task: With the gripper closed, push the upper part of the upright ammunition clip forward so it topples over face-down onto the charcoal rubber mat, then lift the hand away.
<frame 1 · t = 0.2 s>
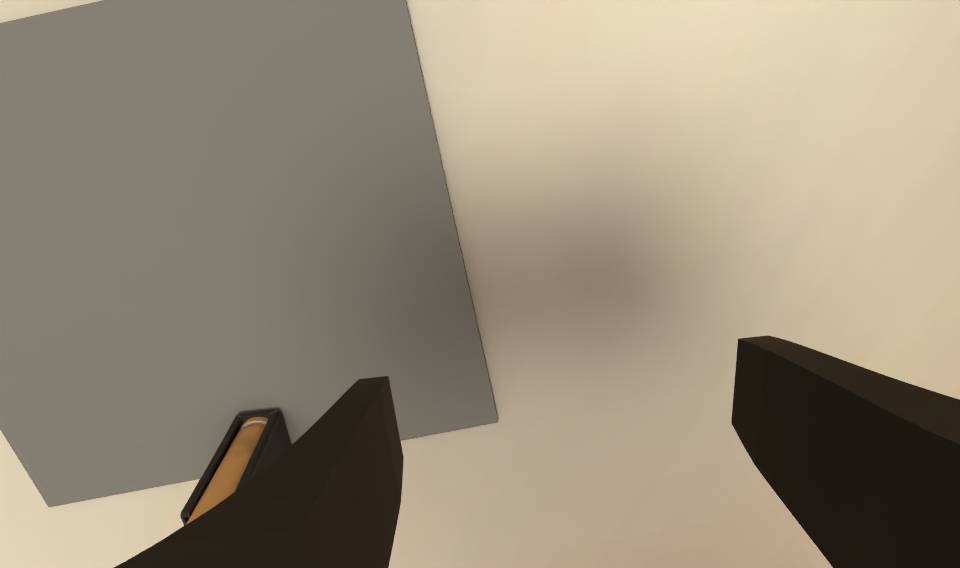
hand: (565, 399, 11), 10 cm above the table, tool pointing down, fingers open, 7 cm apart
ammunition clip: (290, 504, 24), on the table, touching mat
mat: (193, 269, 20), on the table
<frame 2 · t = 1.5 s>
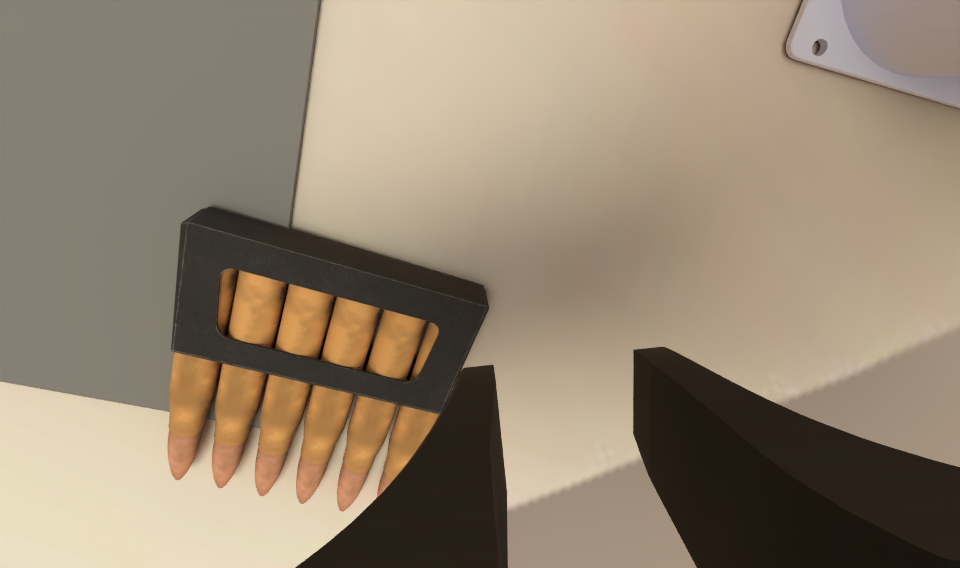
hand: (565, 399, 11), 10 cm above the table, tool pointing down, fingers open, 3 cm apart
ammunition clip: (349, 251, 19), point 1 cm above the table, touching mat
mat: (33, 140, 19), on the table
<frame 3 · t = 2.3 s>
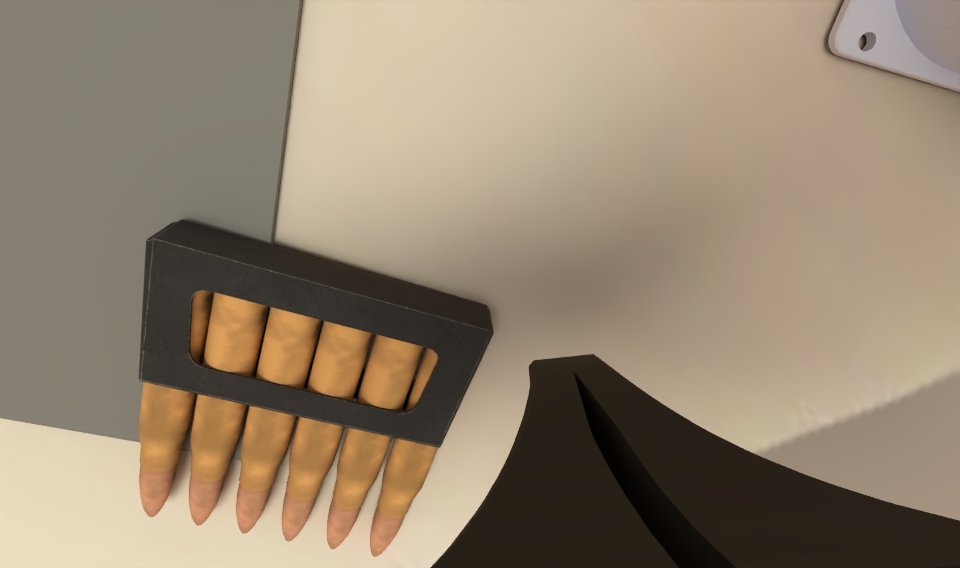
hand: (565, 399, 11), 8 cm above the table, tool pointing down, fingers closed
ammunition clip: (337, 269, 17), point 1 cm above the table, touching mat
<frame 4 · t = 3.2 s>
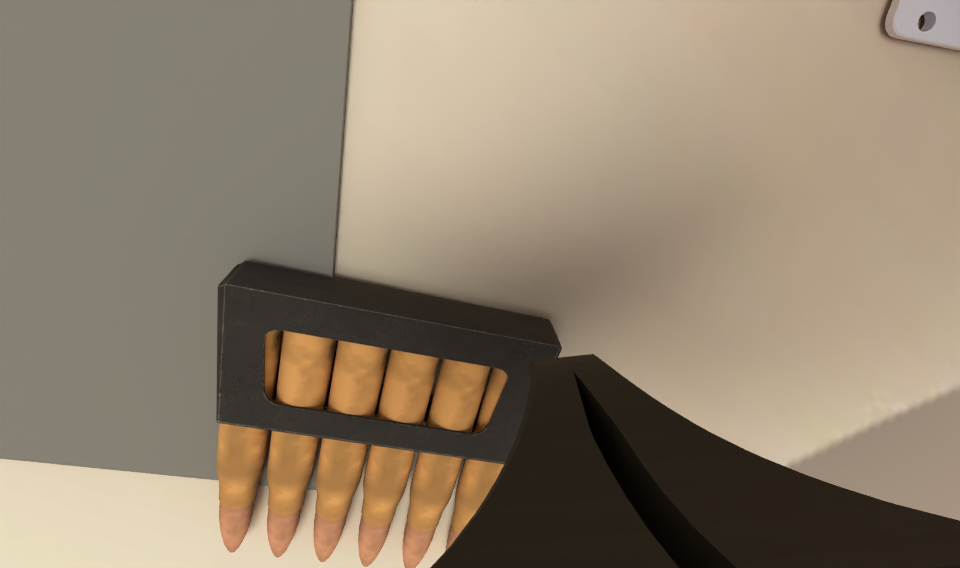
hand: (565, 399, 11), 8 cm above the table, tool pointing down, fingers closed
ammunition clip: (402, 297, 17), point 1 cm above the table, touching mat
mat: (50, 205, 17), on the table
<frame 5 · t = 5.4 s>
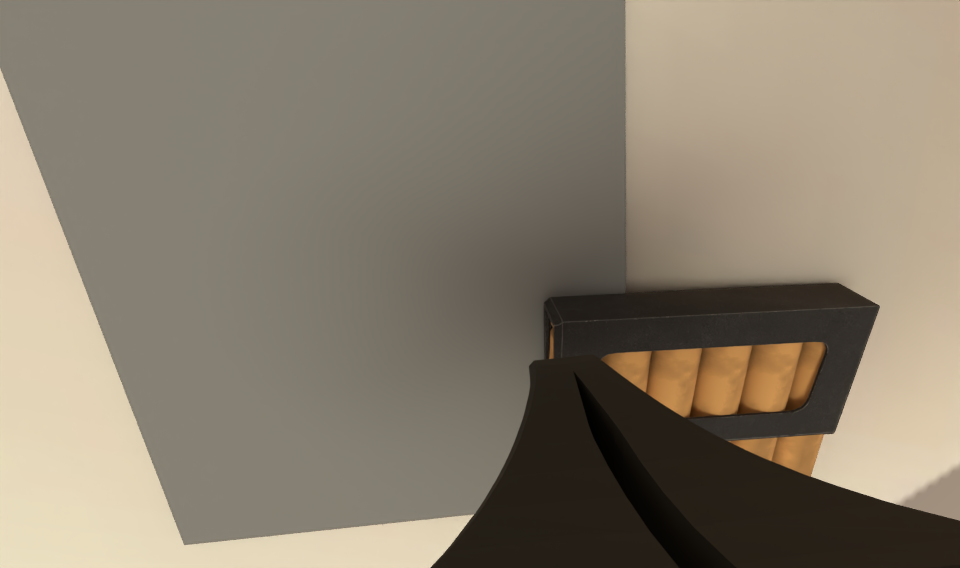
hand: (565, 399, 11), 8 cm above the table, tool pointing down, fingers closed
ammunition clip: (709, 295, 18), point 1 cm above the table, touching mat
mat: (363, 289, 18), on the table
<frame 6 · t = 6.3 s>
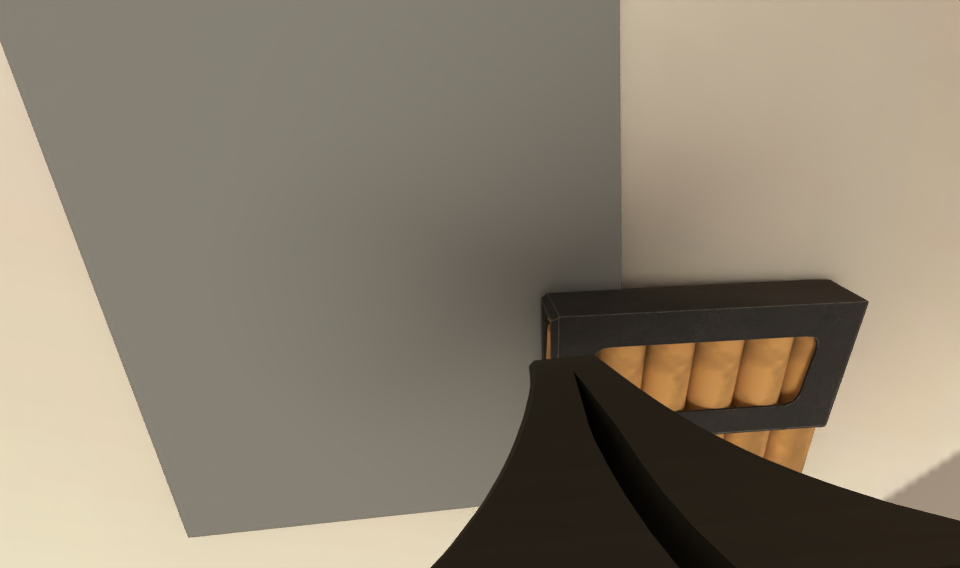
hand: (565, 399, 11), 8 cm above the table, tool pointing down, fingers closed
ammunition clip: (703, 291, 18), point 1 cm above the table, touching mat
mat: (364, 286, 19), on the table
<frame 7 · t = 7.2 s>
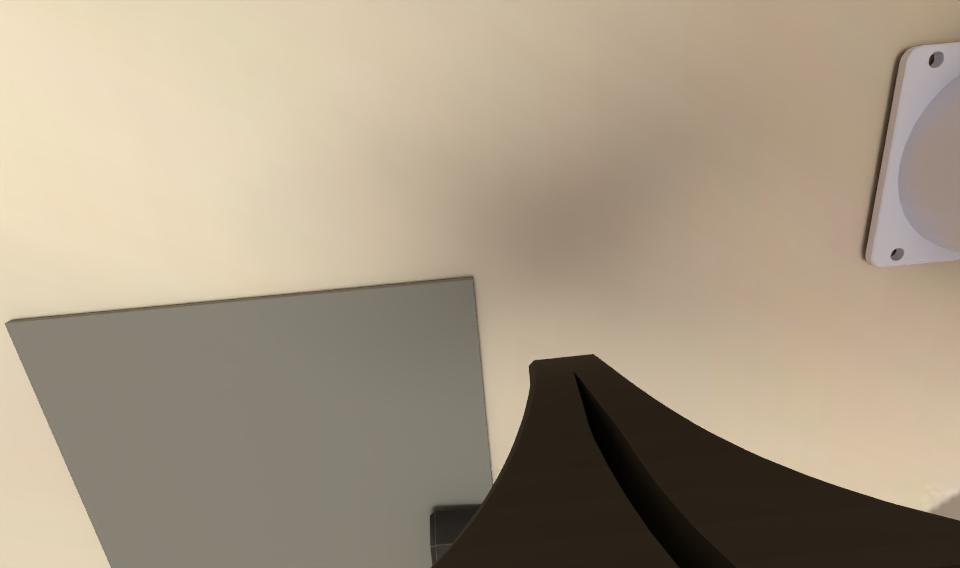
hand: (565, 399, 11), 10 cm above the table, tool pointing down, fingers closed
ammunition clip: (551, 515, 24), point 1 cm above the table, touching mat
mat: (295, 501, 24), on the table
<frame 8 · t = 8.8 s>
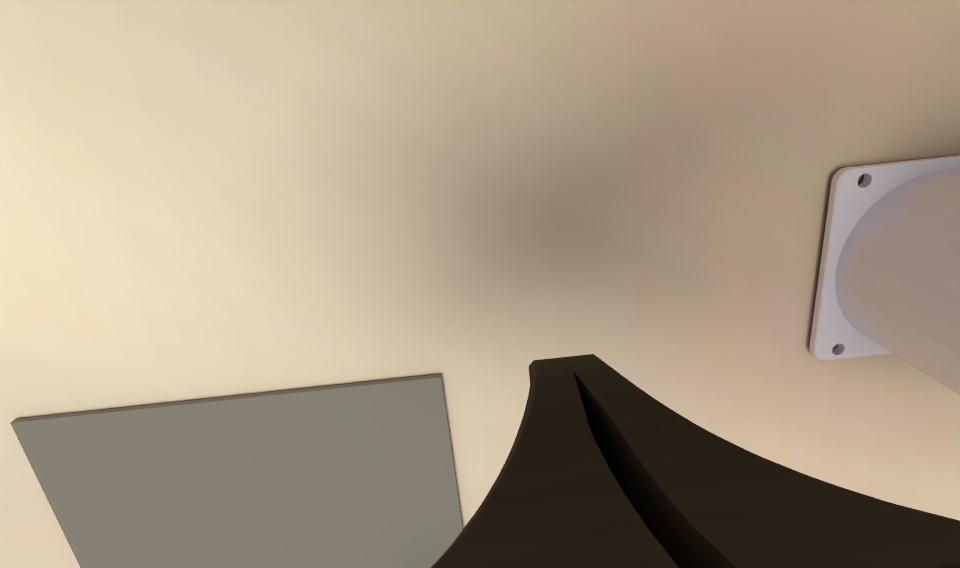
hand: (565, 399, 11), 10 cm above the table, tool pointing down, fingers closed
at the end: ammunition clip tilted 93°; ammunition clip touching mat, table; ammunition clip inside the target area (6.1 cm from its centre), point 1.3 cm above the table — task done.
